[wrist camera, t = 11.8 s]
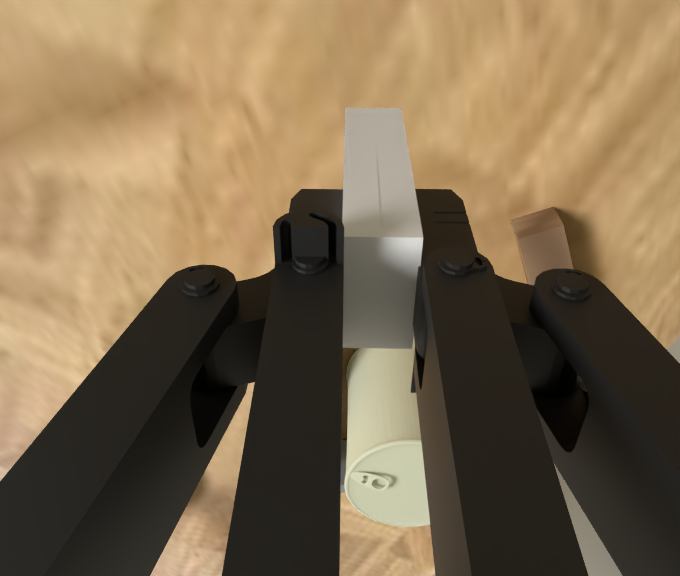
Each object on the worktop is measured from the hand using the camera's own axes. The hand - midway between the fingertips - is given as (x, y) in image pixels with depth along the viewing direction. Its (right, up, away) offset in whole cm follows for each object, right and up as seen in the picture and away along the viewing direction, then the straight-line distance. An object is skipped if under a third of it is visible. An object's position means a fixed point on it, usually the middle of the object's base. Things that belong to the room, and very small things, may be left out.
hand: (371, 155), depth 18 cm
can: (+4, -11, +36) cm, 38 cm away
